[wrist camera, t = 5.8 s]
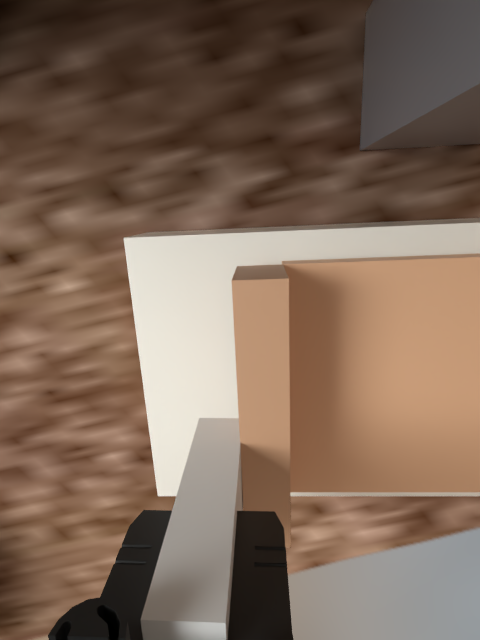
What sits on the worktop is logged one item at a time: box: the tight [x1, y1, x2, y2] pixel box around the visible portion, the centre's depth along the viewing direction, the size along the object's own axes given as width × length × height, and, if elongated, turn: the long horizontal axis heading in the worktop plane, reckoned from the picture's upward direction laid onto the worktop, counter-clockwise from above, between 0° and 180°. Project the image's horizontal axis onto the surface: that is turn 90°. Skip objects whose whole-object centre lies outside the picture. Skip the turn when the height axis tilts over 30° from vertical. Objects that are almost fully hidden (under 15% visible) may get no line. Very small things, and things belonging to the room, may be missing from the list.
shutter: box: [232, 253, 480, 548], centre depth 12 cm, size 9×10×3 cm
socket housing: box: [124, 218, 480, 496], centre depth 16 cm, size 11×14×3 cm
